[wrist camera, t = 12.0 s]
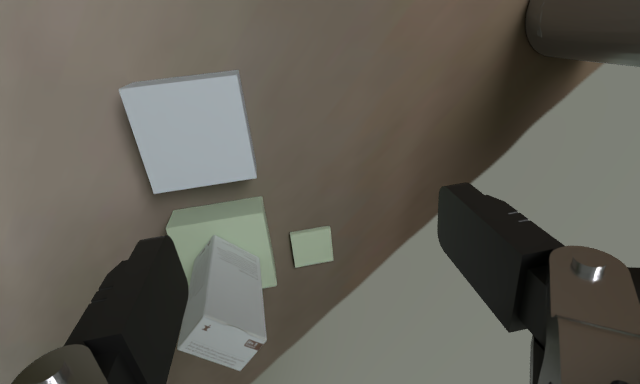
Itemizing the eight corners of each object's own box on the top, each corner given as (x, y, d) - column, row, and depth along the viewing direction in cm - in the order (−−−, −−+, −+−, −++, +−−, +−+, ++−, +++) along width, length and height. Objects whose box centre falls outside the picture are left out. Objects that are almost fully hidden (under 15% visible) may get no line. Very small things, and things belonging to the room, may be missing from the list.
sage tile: (329, 225, 44) (330, 227, 44) (332, 257, 46) (333, 260, 46) (289, 232, 44) (290, 235, 43) (294, 264, 46) (295, 267, 45)
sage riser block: (262, 196, 41) (263, 212, 37) (275, 265, 45) (277, 285, 42) (173, 210, 40) (165, 228, 36) (195, 279, 44) (190, 302, 41)
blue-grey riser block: (238, 69, 35) (237, 74, 31) (256, 164, 39) (256, 177, 36) (132, 82, 34) (118, 89, 30) (163, 178, 38) (153, 193, 34)
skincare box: (193, 260, 38) (169, 353, 28) (215, 230, 37) (200, 314, 26) (241, 283, 41) (238, 376, 30) (263, 255, 40) (268, 342, 29)
